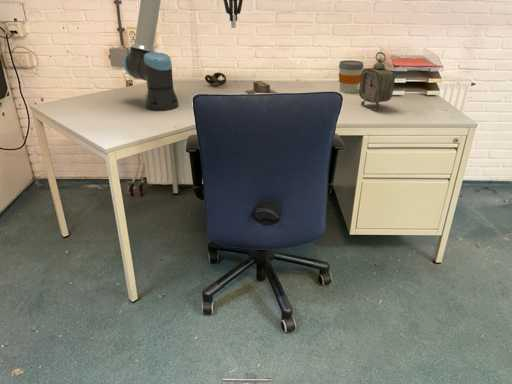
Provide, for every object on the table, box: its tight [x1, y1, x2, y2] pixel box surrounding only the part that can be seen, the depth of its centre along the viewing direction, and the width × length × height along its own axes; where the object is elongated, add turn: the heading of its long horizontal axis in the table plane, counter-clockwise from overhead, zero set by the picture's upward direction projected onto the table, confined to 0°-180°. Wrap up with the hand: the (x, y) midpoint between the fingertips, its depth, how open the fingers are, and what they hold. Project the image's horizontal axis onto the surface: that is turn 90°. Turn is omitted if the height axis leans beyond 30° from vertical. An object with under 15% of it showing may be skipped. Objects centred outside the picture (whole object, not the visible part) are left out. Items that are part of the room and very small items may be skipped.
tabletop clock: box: [358, 51, 396, 112], centre depth 185 cm, size 14×9×25 cm, turn 21°
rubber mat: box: [244, 88, 278, 95], centre depth 213 cm, size 14×11×1 cm
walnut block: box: [252, 80, 271, 93], centre depth 212 cm, size 4×4×11 cm
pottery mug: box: [204, 72, 227, 88], centre depth 225 cm, size 12×10×8 cm
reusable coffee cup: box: [338, 59, 364, 94], centre depth 215 cm, size 12×13×15 cm
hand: (233, 27), depth 221 cm, fingers closed
